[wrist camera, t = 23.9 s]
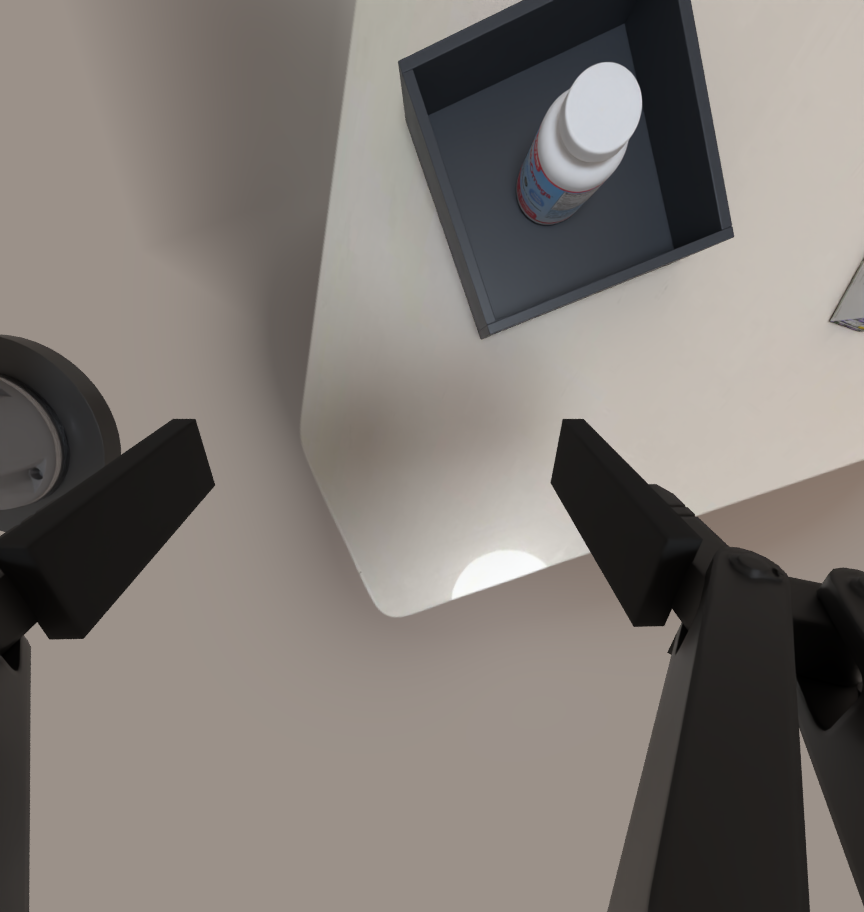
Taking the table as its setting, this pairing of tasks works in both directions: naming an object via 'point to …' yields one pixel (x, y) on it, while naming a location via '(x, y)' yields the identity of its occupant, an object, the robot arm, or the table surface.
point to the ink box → (852, 304)
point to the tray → (514, 129)
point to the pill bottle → (579, 143)
